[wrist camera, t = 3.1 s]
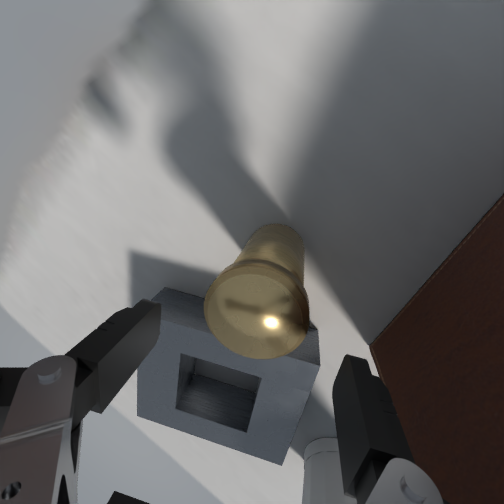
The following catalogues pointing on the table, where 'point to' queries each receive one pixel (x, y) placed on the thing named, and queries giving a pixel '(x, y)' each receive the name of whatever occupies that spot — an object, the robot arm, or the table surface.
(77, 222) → the table surface
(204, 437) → the grey hollow block
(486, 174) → the table surface
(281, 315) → the fitting
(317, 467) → the cup
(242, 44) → the table surface
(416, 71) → the table surface
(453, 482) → the letter holder
